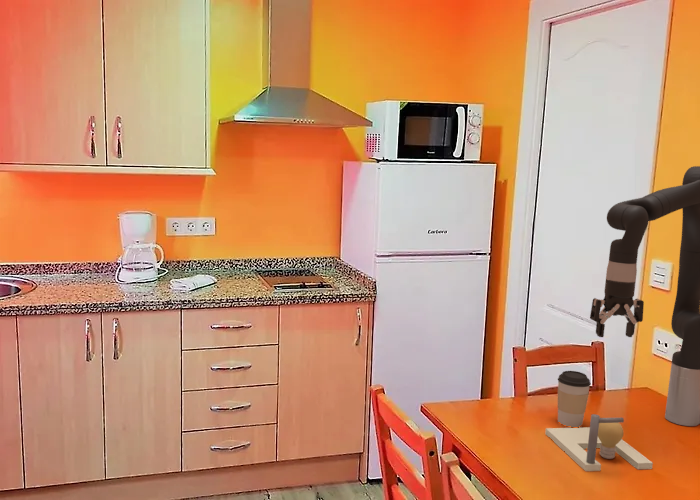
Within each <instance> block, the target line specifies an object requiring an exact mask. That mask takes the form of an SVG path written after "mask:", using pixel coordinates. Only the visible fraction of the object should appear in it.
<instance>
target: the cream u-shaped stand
mask: <svg viewBox="0 0 700 500" xmlns="http://www.w3.org/2000/svg"><path fill="white" fill-rule="evenodd" d="M624 421H625V420H624V417H601V416H600V415H599V414H595V413H593V414H591V415H590V422H589V423H590V424H589V426H588V427H587V426H586V427H579V428H571V427H555V428H553V427H546V428H545V430H544V431H545V432H544V433H545V436H547V437H548V438H549V437H550V438H551V439H552V440H553V441H554V442H553V443H554V444H555V445H556V446H558V447H559V448H560V449H561V450H562V451H563V452H564V451H565V452H564V453H565V454H567V456H568V457H569V458H571V459H572V460H573V462H575V463H576V464H577V465H578V466H579V467H580V468H581V469H583V470H584V471H585V472H600V471H601V469H602V468H601V467H602V464H601V463H600V462H599V461H598V460H596V456H597V449H596V448H600V445H601V441H600V439H599V438H598V429H599V423H619V424H621V423H624ZM550 438H549V439H550ZM551 439H550V440H551ZM552 440H551V441H552ZM615 446H616V450H615V454H617V455H619V456H620V457H621V458H623V459H624V460H625V461H627V462H628V463H629V464H630V465H631V466H632V467H634V468H635V469H637V470H652V469H653V464H654V463H653V461H651V460H649V459H648V458H647V457H646V456H644V455H643V454H642V453H641V452H639V451H638V450H637V449H635V448H634V447H633V446H631V445H630V444H629V443H627V442H626V441H624V440H623V438H622V439H621V441H620V442H619V443H618V444H616V445H615ZM586 448H587V449H586ZM586 450H587V451H586Z"/></svg>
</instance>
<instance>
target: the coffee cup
mask: <svg viewBox="0 0 700 500" xmlns="http://www.w3.org/2000/svg"><path fill="white" fill-rule="evenodd" d="M557 381H558V384H557V386H558V387H557V423H558V422H560V423H561V424H563V425H566V426H571V427H579V426H581V425H582V426H583V422H584V417H585V413H586V409H587V405H588V398H589V394H590V391H589V390H590V386H591V385H592V384H591V380H590V379H589V378H588V376H587V374H585V373H583V372H581V371H577V370H565V371H563V372H562V373H561V374H559V375H558V378H557ZM561 424H560V425H561ZM563 425H562V426H563ZM566 426H565V427H566ZM582 426H581V427H582ZM571 427H570V428H571ZM579 428H580V427H579Z"/></svg>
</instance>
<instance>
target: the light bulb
mask: <svg viewBox="0 0 700 500" xmlns="http://www.w3.org/2000/svg"><path fill="white" fill-rule="evenodd" d="M623 437H624V428H623V426H622V424H621V423H599V429H598V438H599V439H600V441H601V445H600V449H599V456H600V457H602V458H603V459H607V460H612V459H614V458H615V457H616V452H615V450H616V446H615V445H616V444H618V443H619V442H620V441H621V439H622V440H623Z"/></svg>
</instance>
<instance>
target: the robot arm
mask: <svg viewBox="0 0 700 500" xmlns="http://www.w3.org/2000/svg"><path fill="white" fill-rule="evenodd" d="M678 210H682V223H681V225H682V227H681V240H680V247H679V248H680V249H679V261H678V262H679V263H678V275H677V285H676V286H677V287H676V296H675V300H674V301H675V302H674V306H673V311H672V315H671V329H672V333H674V335H675V336H677V338H679V339H681V340H682V341H681V346H680V347H681V348H680V350H679V351H674V352H673V354H672V358H671V366H670V374H669V382H668V388H667V390H668V391H667V398H666V405H665V412H664V413H665V414H664V418H665V419H666V420H667V421H669V422H670V423H673V424H676V425H680V426H686V427H696V426H699V425H700V165H698V166H697V165H695V166H691V167H688V169H687V170H686V171H685V173H684V175H683V178H682V183H681V185H677V186H671V187H667V188H662V189H658V190H655V191H653V192H651V193H649V194H647V195H645V196H643V197H638V198H633V199H629V200H623V201H620V202H618V203H615V204H614V205H613V206H612V207H611V208H610V209H608V211H607V214H606V222H607V224H608V226H609V227H610V228H612V229H615V230H618V231H622V232H623V231H624V234H623V235H622V238H618V239H613V240H612V241H611V243H610V246H609V255H608V263H607V267H606V273H605V284H604V290H603V291H604V297H603V299H601V298H600V299H598V298H596V297H594V298H593V299H592V302H591V309H590V315H589V319H590V320H592V321H594V322H596V324H595V325H596V327H595V334H596V336H597V337H599V338H604V336H605V327H606V326H605V325H606V321H607V320H608V319H610V318H611V317H612V316H614V317H615V316H621V317H623V316H624V317H625V319H626V320H627V322H626V326H625V337H628V338H633V336H634V334H635V329H636V324H637V323H641V322H643V321H644V304H645V303H644V300H642V299H639V298H635V299H634V297H635V289H636V281H637V272H638V270H637V269H638V268H637V265H638V264H637V263H638V254H639V248H640V246H641V243H642V240H643V238H644V235H645V234H646V231H647V227H648V225H649V222H653V221H656V220H658V219H660V218H663V217H665V216H667V215H669V214H672V213H674V212H676V211H678ZM603 306H604V307H603ZM602 307H603V308H602ZM632 307H633V311H632V310H631V309H632ZM601 308H602V309H601Z"/></svg>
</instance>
